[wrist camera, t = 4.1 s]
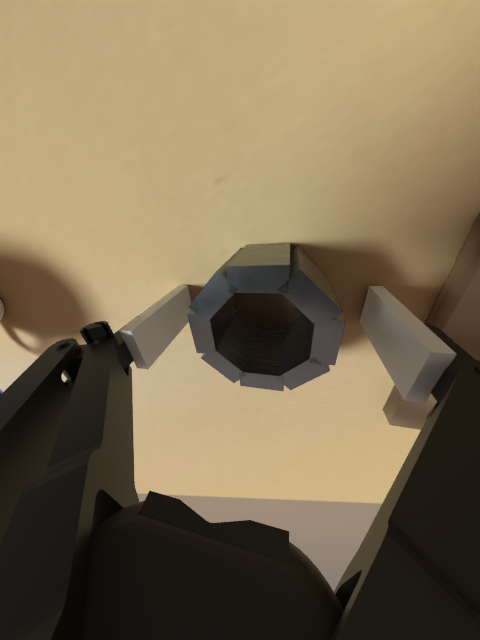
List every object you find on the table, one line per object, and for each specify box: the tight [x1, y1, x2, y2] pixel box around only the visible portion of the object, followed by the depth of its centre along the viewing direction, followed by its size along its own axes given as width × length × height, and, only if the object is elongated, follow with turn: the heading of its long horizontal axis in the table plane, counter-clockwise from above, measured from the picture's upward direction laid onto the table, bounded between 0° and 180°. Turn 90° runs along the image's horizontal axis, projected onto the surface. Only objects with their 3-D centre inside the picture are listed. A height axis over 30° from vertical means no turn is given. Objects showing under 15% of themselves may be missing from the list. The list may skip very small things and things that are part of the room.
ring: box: [187, 243, 346, 391], centre depth 12 cm, size 8×8×5 cm
